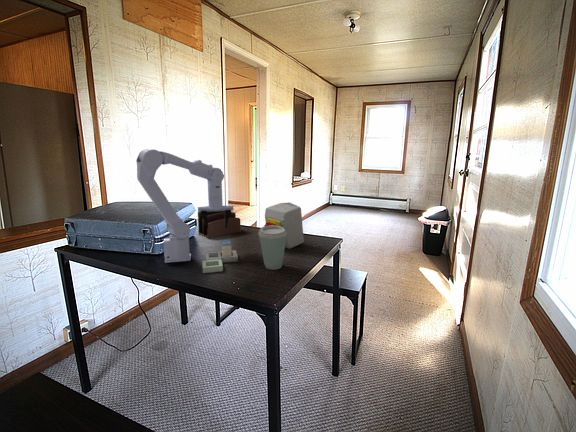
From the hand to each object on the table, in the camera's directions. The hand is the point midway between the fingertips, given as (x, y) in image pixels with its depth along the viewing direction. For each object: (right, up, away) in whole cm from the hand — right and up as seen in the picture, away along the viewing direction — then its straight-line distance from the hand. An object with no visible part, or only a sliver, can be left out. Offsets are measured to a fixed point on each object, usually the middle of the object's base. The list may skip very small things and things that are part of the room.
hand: (216, 227), depth 128 cm
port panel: (+4, -12, -8) cm, 15 cm away
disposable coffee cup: (+25, -14, -15) cm, 32 cm away
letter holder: (-5, -4, +30) cm, 31 cm away
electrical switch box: (+27, -9, +11) cm, 31 cm away
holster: (+3, -14, -17) cm, 23 cm away
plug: (+6, -12, -8) cm, 16 cm away
